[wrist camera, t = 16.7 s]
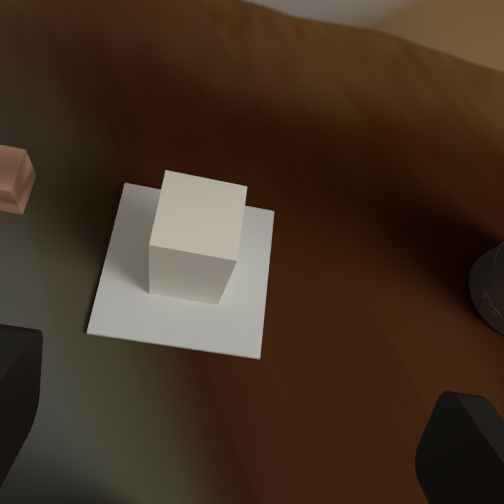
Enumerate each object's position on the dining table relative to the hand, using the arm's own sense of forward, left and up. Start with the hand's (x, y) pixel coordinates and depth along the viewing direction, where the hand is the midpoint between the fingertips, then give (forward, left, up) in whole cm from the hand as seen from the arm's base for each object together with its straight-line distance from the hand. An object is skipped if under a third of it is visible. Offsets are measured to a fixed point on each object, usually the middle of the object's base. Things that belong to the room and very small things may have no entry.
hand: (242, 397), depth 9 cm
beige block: (-8, -11, -29) cm, 32 cm away
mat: (-8, -12, -29) cm, 33 cm away
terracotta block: (+2, -26, -29) cm, 39 cm away
